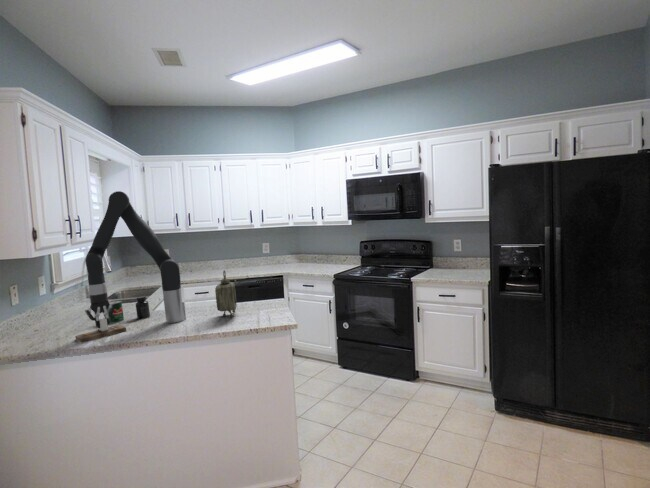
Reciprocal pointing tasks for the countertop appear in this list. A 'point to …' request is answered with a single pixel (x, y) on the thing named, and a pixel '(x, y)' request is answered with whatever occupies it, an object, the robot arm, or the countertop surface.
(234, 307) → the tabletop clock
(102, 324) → the fader
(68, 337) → the countertop surface
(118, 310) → the canned tomato
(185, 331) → the countertop surface
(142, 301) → the supplement bottle
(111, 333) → the board
